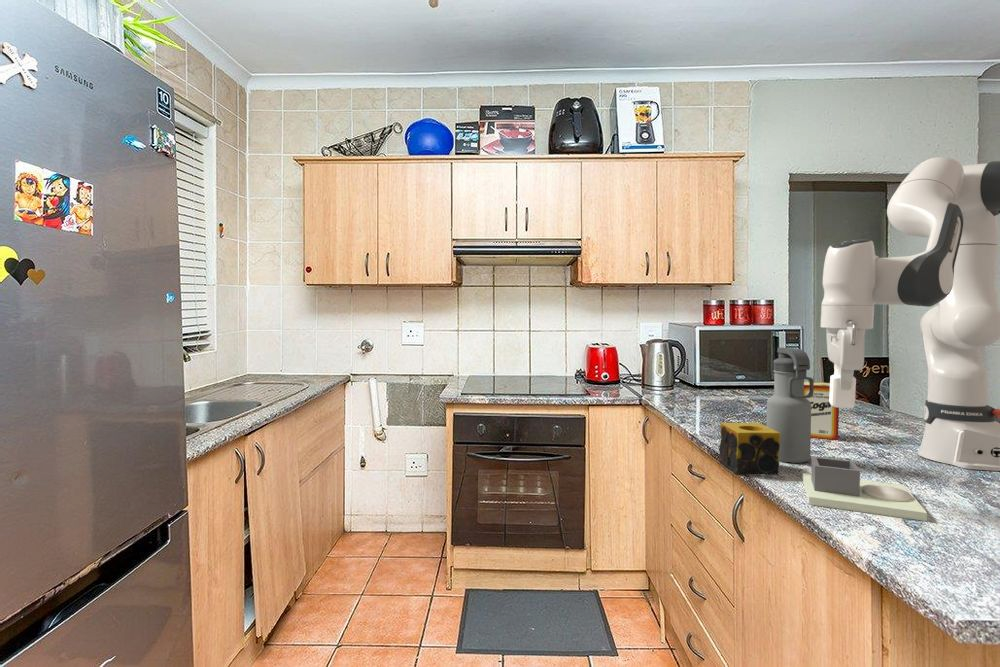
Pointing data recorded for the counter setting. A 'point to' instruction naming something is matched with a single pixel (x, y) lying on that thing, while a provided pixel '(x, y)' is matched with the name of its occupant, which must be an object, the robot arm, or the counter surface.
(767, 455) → the candle
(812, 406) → the baking soda box
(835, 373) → the salt shaker
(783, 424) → the water bottle
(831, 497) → the cream holder tray
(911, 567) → the counter surface
